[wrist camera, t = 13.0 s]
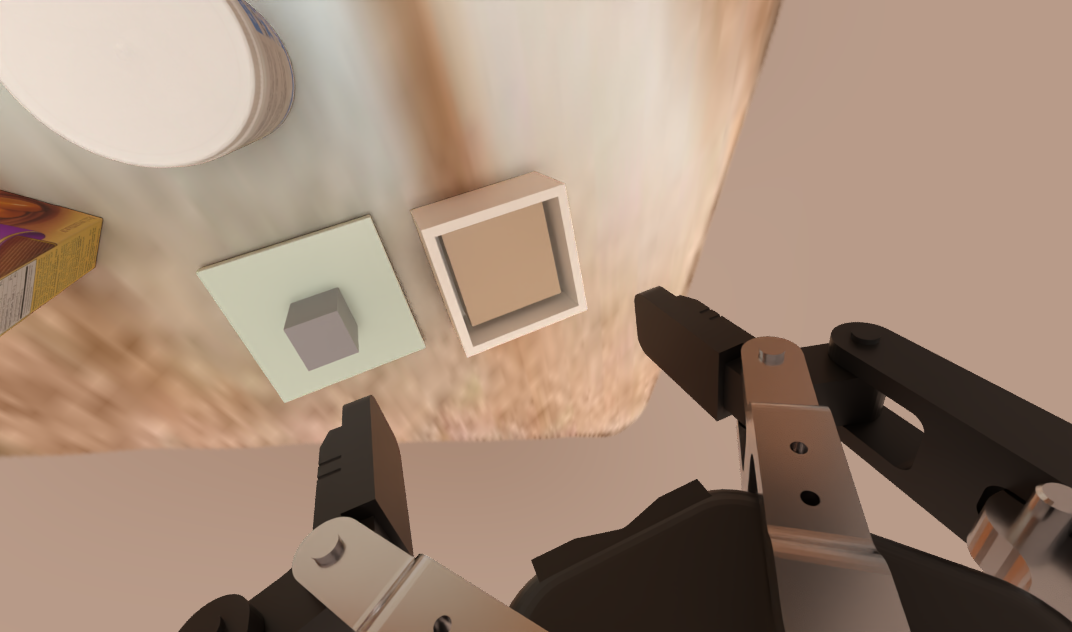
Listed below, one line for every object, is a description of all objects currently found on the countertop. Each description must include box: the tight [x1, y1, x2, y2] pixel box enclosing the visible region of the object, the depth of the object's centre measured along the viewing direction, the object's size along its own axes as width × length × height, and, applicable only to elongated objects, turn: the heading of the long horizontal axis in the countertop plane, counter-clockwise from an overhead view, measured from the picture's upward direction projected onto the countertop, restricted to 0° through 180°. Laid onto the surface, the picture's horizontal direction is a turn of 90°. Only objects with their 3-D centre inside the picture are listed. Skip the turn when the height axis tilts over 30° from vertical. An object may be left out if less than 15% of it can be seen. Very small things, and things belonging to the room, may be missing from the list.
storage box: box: [410, 171, 588, 358], centre depth 40 cm, size 12×12×7 cm
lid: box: [196, 215, 426, 403], centre depth 37 cm, size 14×14×7 cm
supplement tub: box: [0, 0, 295, 168], centre depth 24 cm, size 10×10×15 cm
